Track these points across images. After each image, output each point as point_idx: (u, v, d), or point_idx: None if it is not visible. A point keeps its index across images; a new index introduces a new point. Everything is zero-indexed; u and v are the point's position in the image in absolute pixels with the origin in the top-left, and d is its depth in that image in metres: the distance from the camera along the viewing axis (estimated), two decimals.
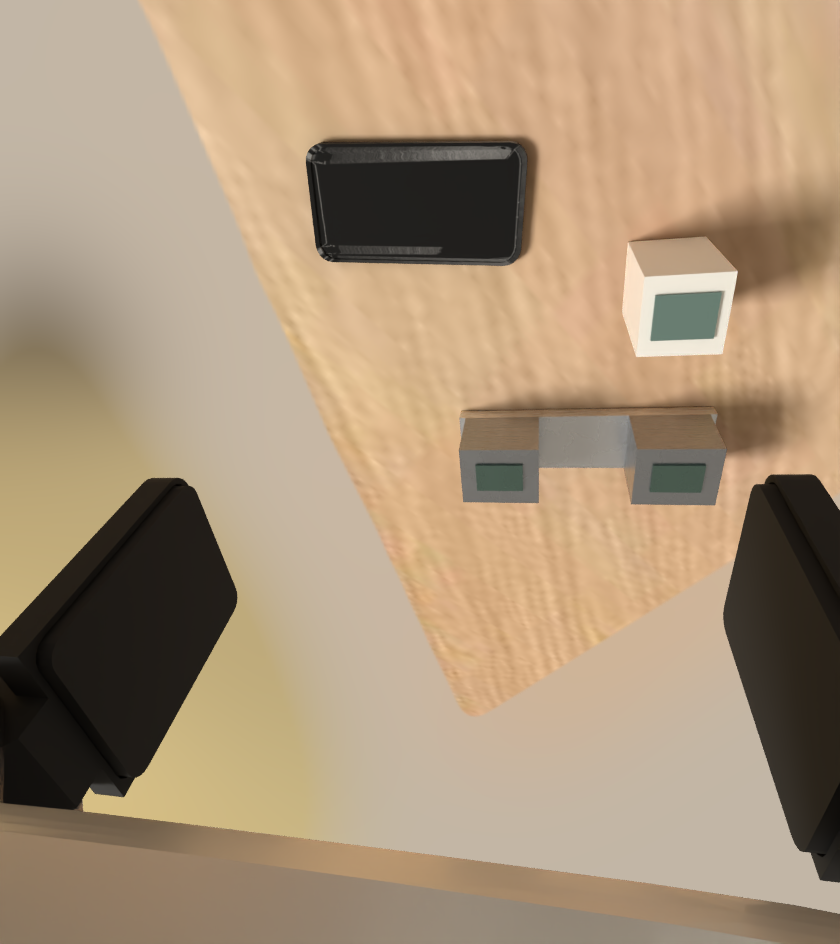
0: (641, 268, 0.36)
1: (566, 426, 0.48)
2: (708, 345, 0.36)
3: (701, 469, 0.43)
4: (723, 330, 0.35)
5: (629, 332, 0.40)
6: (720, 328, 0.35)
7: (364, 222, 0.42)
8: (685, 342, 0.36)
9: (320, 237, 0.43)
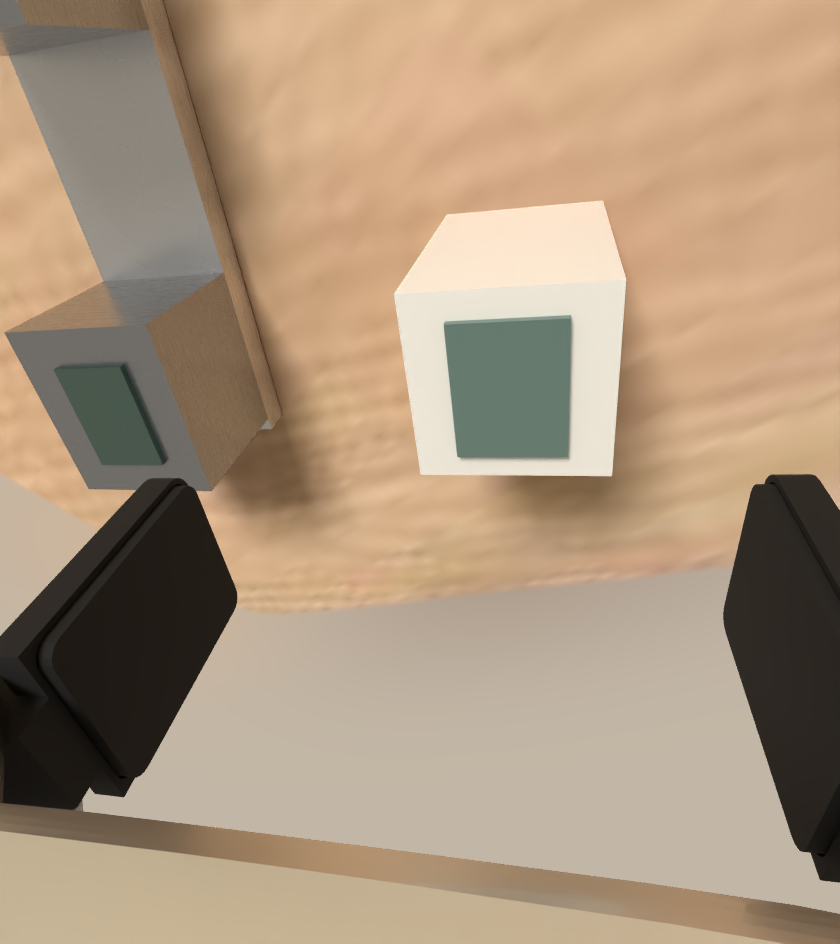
0: None
1: (150, 121, 0.19)
2: (438, 447, 0.16)
3: (151, 458, 0.20)
4: (475, 469, 0.16)
5: (428, 249, 0.16)
6: (479, 463, 0.16)
7: None
8: (443, 402, 0.15)
9: None
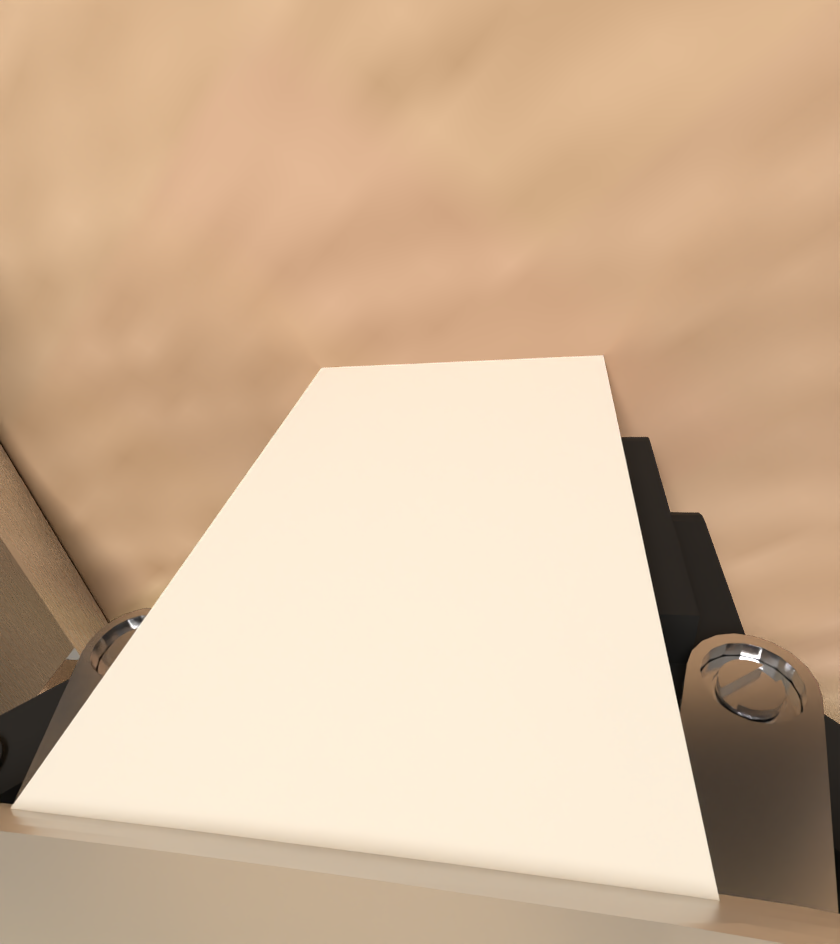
0: (668, 674, 0.05)
1: None
2: None
3: None
4: None
5: (230, 512, 0.07)
6: None
7: None
8: None
9: None
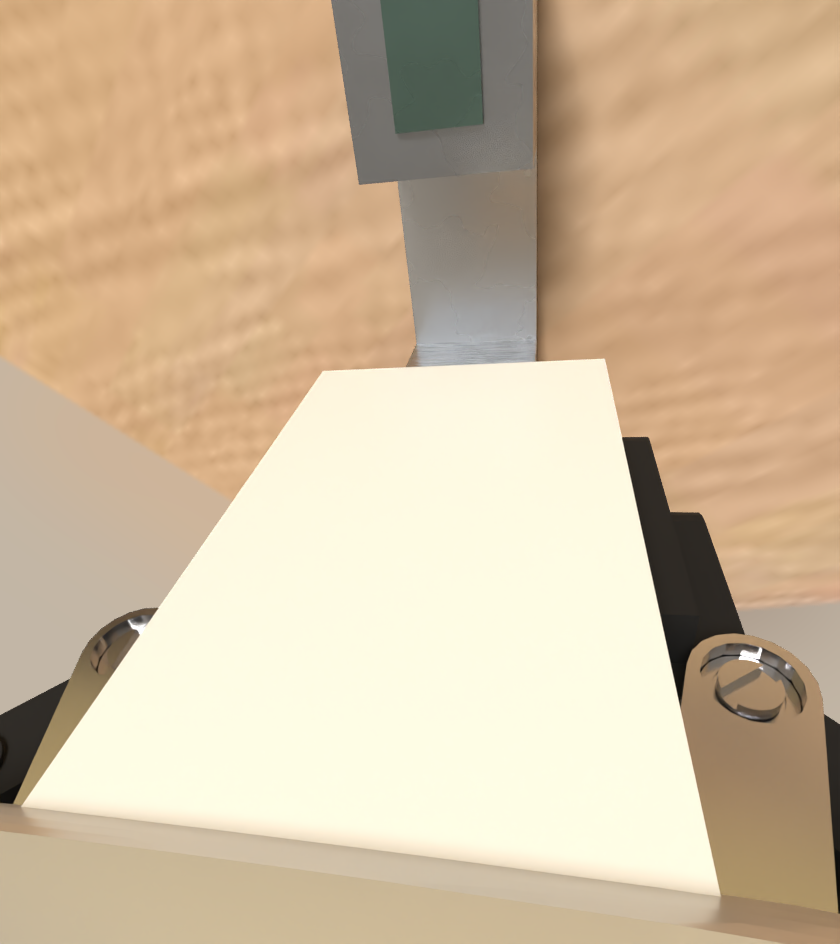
0: (671, 681, 0.05)
1: (510, 216, 0.22)
2: None
3: None
4: None
5: (232, 517, 0.07)
6: None
7: None
8: None
9: None
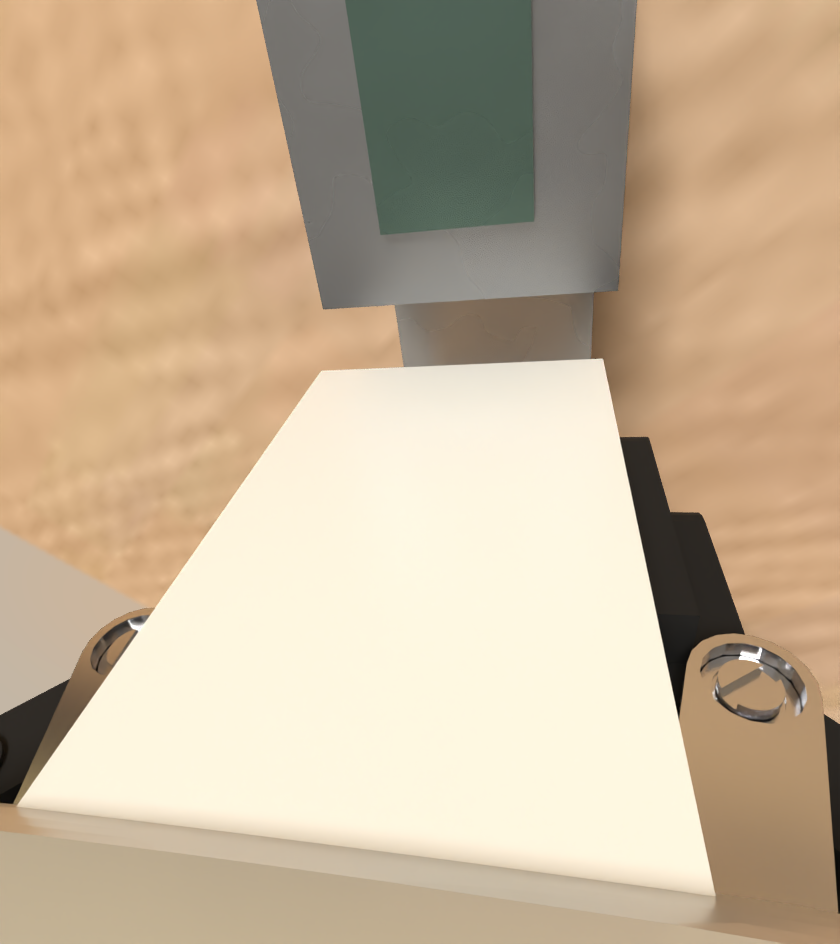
0: (668, 681, 0.05)
1: (554, 317, 0.15)
2: None
3: None
4: None
5: (229, 517, 0.07)
6: None
7: None
8: None
9: None
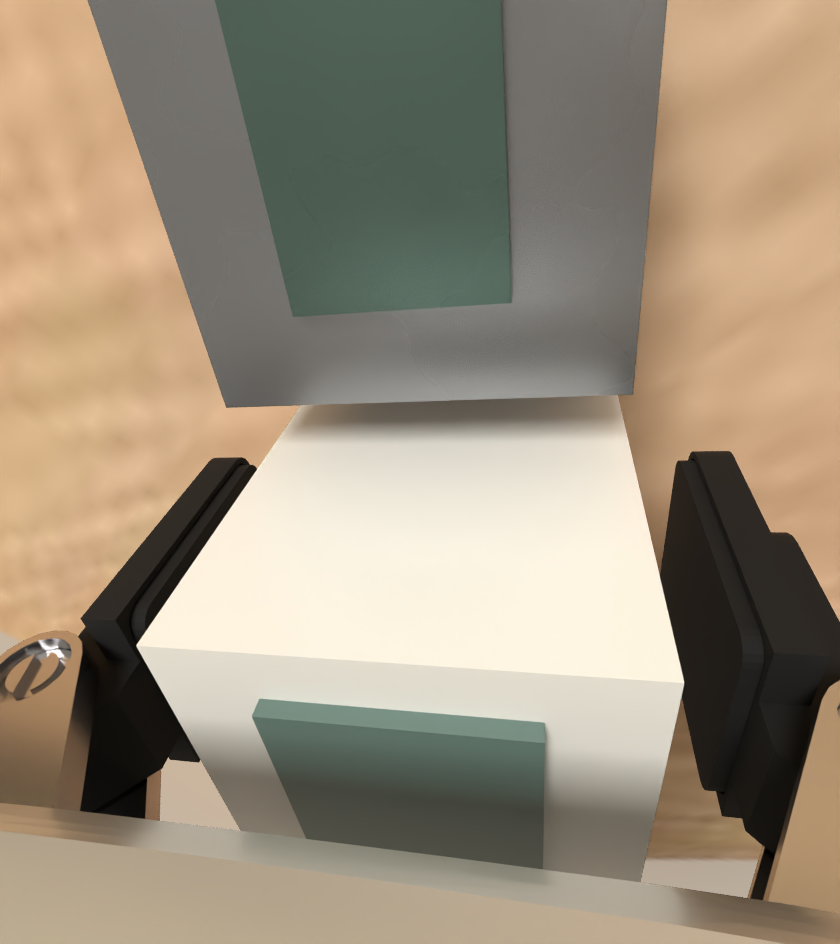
0: (651, 549, 0.06)
1: None
2: None
3: None
4: None
5: (283, 445, 0.09)
6: None
7: None
8: (286, 802, 0.07)
9: None
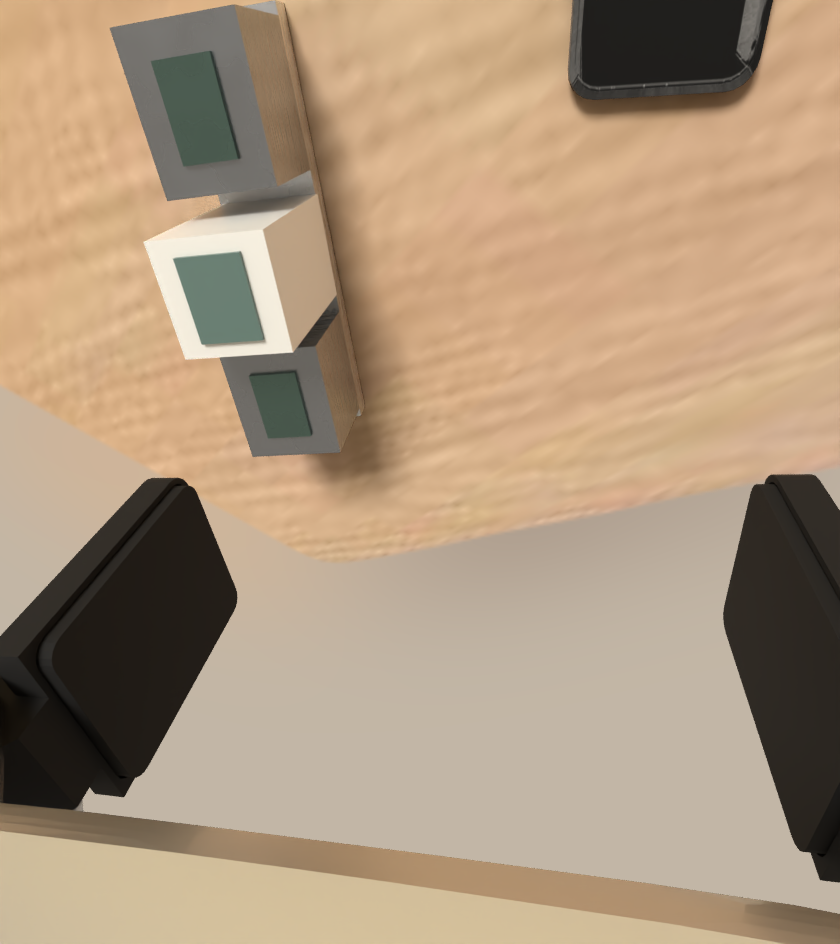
0: (276, 221, 0.24)
1: None
2: (191, 339, 0.26)
3: (304, 431, 0.31)
4: (216, 353, 0.26)
5: (188, 221, 0.26)
6: (217, 349, 0.26)
7: None
8: (187, 309, 0.25)
9: None
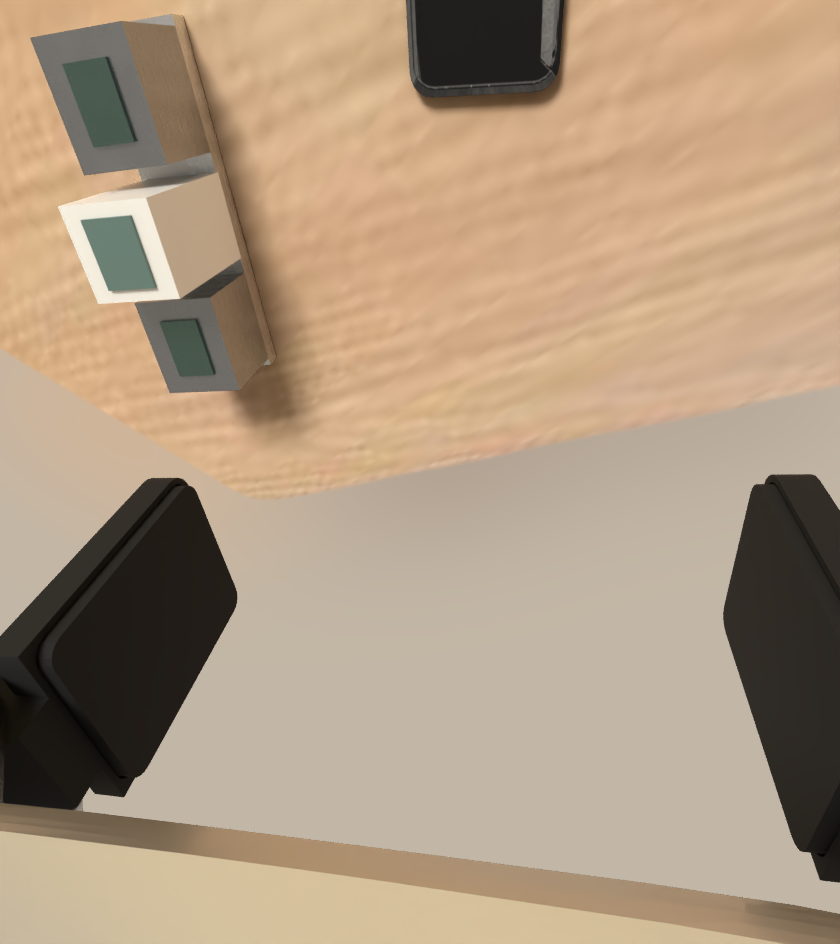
0: (163, 192, 0.30)
1: None
2: (101, 287, 0.32)
3: (208, 371, 0.37)
4: (121, 299, 0.32)
5: (103, 192, 0.33)
6: (122, 295, 0.32)
7: None
8: (95, 261, 0.31)
9: None
